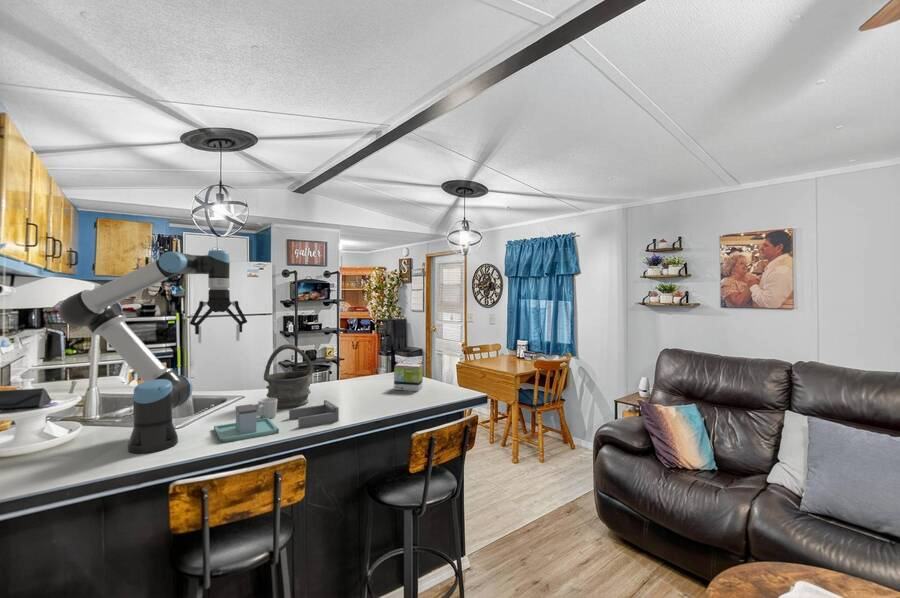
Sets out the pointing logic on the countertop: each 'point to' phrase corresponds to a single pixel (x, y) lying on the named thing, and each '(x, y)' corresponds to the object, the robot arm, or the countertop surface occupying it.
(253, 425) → the block
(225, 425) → the tray
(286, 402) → the dark handled basket
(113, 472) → the countertop surface
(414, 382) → the tea box
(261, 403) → the cup
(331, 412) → the tray
